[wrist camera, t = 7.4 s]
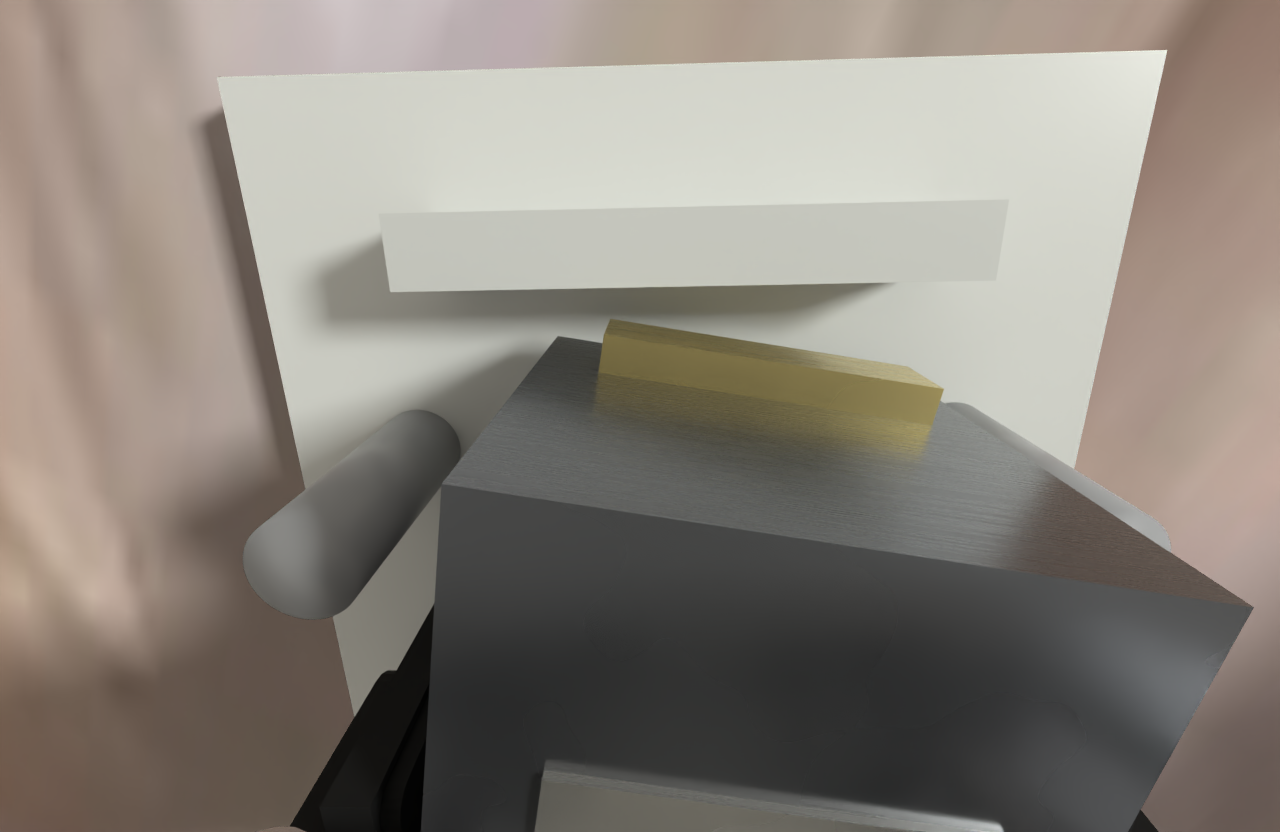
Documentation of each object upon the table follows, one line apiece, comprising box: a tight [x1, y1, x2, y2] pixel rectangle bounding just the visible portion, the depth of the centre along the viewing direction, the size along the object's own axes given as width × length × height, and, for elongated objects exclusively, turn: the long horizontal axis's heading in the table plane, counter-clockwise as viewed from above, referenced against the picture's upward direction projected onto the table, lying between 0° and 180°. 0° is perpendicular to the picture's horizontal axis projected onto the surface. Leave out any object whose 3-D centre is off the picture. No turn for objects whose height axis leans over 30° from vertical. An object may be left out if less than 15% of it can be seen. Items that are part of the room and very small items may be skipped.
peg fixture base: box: [217, 50, 1171, 717], centre depth 11 cm, size 18×14×5 cm
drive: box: [421, 319, 1254, 832], centre depth 8 cm, size 10×6×6 cm, turn 171°
